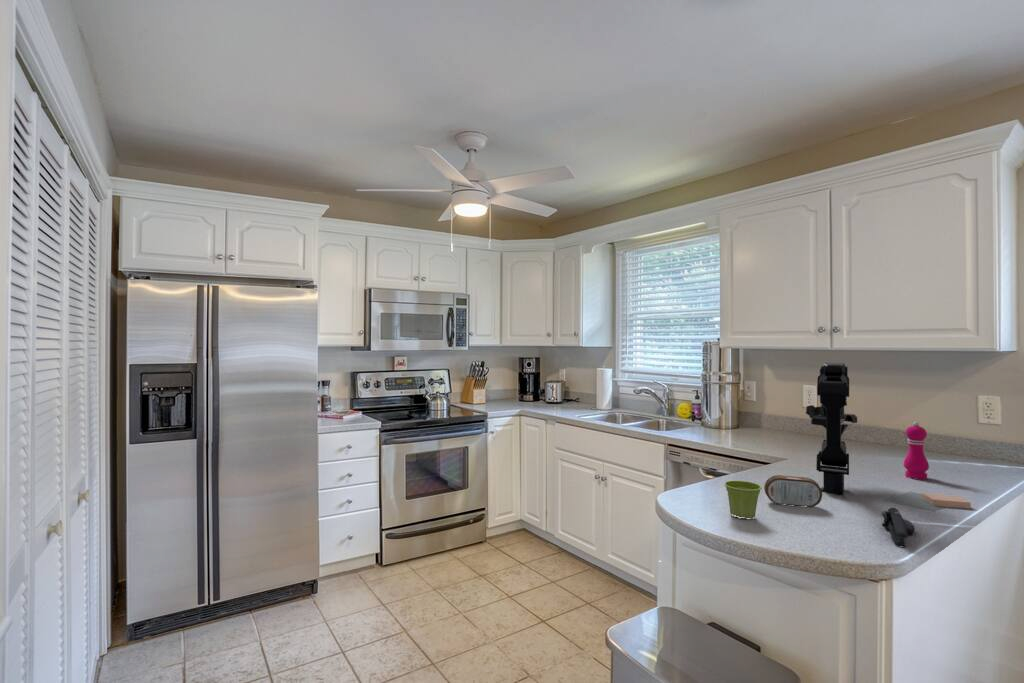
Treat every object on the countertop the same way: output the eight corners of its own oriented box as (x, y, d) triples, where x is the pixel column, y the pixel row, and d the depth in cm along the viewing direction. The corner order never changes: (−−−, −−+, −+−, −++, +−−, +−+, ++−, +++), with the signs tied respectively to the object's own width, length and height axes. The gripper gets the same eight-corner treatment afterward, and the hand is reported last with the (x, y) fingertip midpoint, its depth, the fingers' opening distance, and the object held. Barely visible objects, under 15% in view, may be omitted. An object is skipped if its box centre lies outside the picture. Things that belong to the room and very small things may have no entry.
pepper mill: (925, 476, 190) (925, 421, 191) (931, 480, 184) (931, 423, 184) (901, 474, 193) (901, 419, 194) (906, 478, 187) (906, 422, 187)
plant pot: (769, 518, 142) (769, 486, 142) (746, 524, 138) (746, 491, 138) (739, 509, 151) (739, 479, 151) (717, 514, 146) (717, 483, 146)
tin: (820, 506, 154) (820, 477, 154) (823, 509, 151) (823, 480, 151) (764, 501, 159) (764, 473, 159) (765, 504, 156) (765, 475, 156)
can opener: (880, 524, 139) (880, 503, 139) (913, 529, 135) (913, 507, 135) (881, 545, 124) (881, 521, 124) (919, 552, 120) (918, 527, 120)
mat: (933, 513, 148) (933, 511, 148) (882, 501, 159) (882, 499, 159) (960, 503, 157) (960, 501, 157) (909, 493, 168) (909, 491, 168)
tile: (933, 499, 153) (970, 502, 150) (922, 493, 159) (957, 495, 157) (933, 505, 153) (970, 508, 150) (922, 499, 159) (957, 501, 157)
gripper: (825, 396, 193) (825, 438, 193) (796, 398, 183) (795, 443, 183) (858, 398, 183) (858, 443, 183) (828, 401, 174) (828, 448, 174)
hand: (834, 444), depth 181 cm, fingers closed
